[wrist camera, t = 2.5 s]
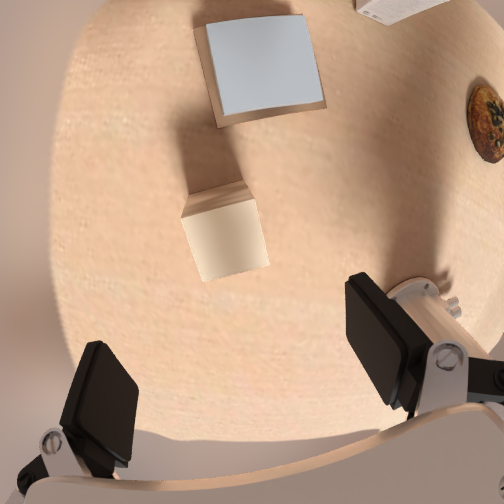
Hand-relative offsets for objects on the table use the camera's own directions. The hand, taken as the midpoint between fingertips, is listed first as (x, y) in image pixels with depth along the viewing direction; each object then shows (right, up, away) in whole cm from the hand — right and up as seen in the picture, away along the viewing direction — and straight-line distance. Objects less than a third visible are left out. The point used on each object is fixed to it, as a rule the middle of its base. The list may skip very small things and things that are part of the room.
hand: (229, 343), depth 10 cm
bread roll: (+33, +21, +15) cm, 42 cm away
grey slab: (+1, +17, +8) cm, 19 cm away
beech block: (-2, +7, +15) cm, 17 cm away
